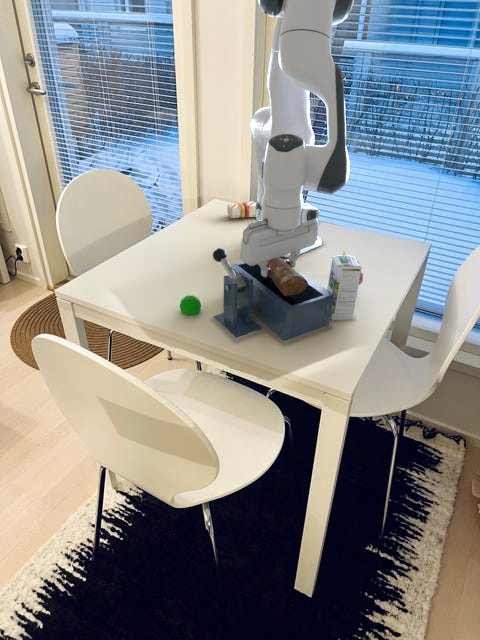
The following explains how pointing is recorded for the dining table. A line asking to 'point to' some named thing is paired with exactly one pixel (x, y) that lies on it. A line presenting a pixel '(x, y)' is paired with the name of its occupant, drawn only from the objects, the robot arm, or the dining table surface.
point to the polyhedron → (190, 305)
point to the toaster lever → (229, 268)
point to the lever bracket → (238, 318)
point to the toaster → (287, 304)
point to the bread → (286, 277)
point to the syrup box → (344, 286)
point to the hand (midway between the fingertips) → (278, 271)
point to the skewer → (242, 210)
